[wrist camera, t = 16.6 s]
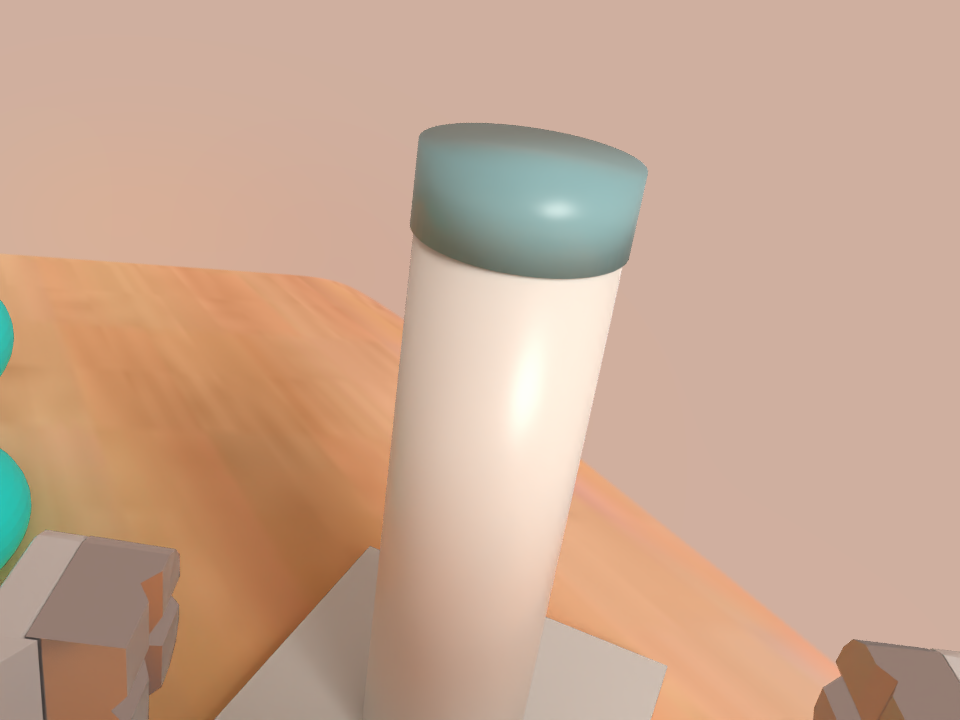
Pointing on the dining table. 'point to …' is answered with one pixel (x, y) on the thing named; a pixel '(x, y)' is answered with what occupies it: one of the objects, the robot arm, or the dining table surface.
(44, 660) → the robot arm
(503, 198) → the cylinder
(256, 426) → the dining table surface
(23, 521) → the donuts
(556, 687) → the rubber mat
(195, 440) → the dining table surface
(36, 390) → the dining table surface
